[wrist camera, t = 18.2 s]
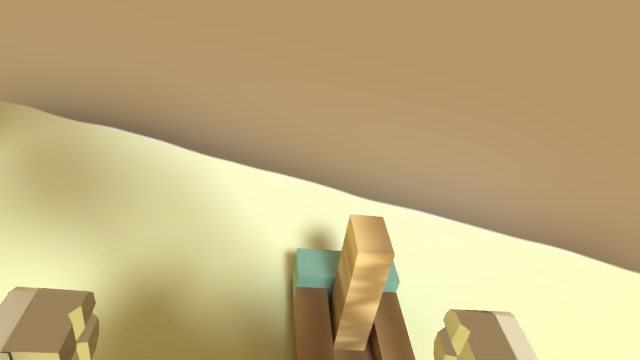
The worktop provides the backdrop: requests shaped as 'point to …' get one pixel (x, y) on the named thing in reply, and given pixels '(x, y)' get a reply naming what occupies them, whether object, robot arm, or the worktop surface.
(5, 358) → the robot arm
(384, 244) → the oak plank
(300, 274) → the walnut sill
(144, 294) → the worktop surface
